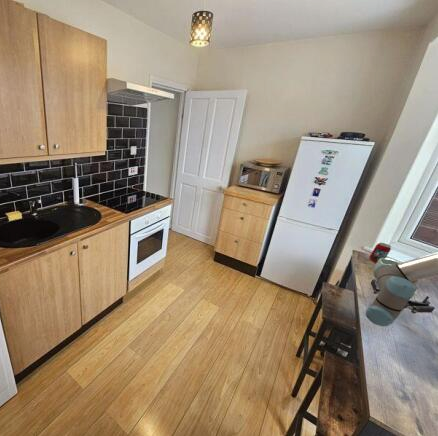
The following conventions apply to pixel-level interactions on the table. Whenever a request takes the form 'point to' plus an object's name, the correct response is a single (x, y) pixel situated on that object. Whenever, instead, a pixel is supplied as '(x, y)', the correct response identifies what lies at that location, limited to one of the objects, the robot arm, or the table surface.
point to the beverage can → (380, 252)
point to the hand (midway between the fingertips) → (405, 289)
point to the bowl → (386, 261)
